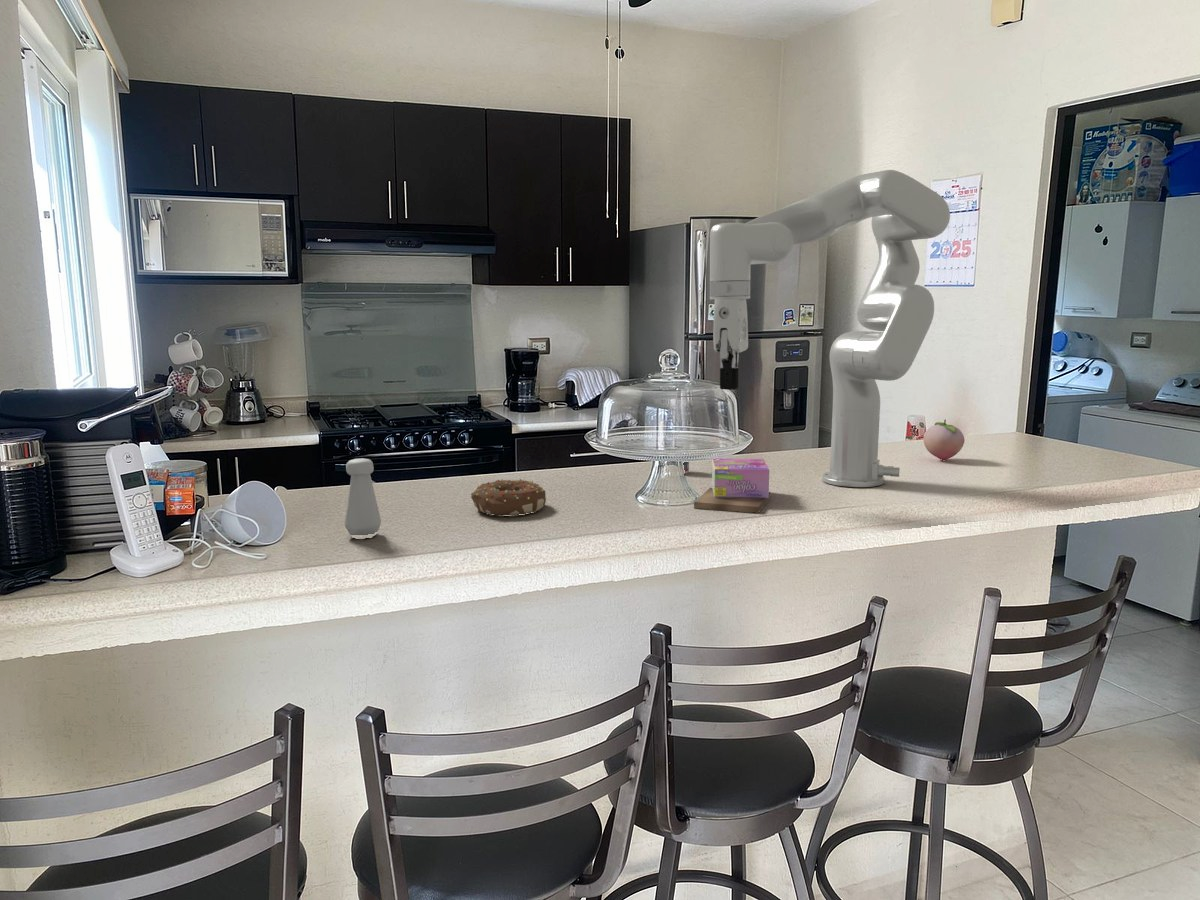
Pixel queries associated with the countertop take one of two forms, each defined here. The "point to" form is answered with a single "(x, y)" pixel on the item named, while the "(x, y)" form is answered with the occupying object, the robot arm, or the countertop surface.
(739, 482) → the box
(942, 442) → the decorative fruit
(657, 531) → the countertop surface
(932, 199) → the robot arm
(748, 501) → the board
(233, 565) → the countertop surface
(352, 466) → the salt shaker
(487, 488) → the donut
